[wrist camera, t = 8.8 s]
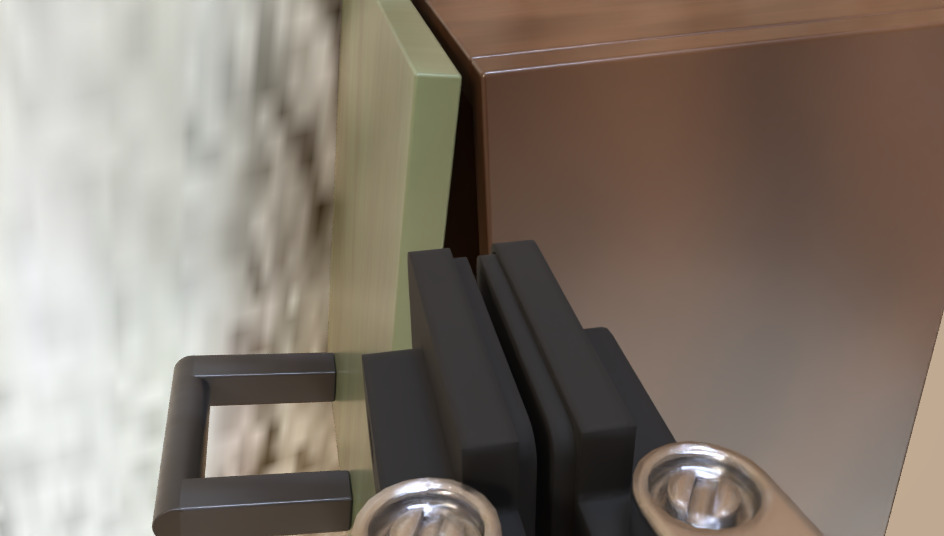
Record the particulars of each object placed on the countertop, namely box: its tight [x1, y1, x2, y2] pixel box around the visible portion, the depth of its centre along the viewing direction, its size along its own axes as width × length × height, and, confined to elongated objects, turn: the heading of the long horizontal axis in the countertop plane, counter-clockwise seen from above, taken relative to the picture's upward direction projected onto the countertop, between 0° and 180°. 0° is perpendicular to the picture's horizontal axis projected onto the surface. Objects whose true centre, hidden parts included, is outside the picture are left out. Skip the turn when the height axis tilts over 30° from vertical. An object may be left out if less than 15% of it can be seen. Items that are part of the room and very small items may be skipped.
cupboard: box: [411, 0, 944, 536], centre depth 25 cm, size 10×15×14 cm
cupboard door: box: [152, 0, 462, 536], centre depth 23 cm, size 6×15×14 cm, turn 174°
